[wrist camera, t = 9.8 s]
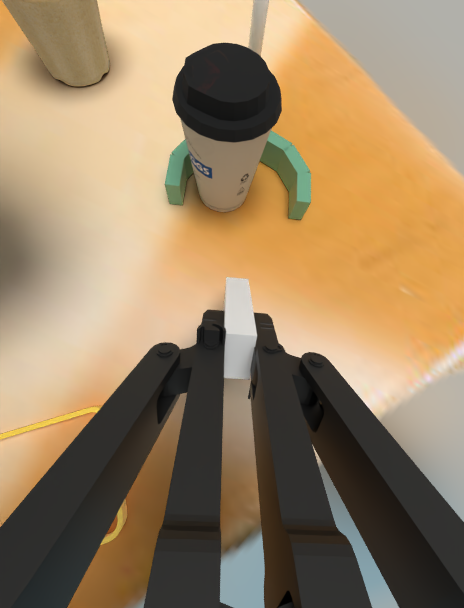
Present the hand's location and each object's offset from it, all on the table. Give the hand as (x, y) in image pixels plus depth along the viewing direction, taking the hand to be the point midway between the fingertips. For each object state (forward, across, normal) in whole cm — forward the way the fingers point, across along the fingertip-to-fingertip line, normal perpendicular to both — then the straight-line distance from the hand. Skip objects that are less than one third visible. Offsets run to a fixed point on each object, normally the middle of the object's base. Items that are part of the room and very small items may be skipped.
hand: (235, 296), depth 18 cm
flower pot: (+20, -18, +16) cm, 31 cm away
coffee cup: (+11, -2, +6) cm, 12 cm away
